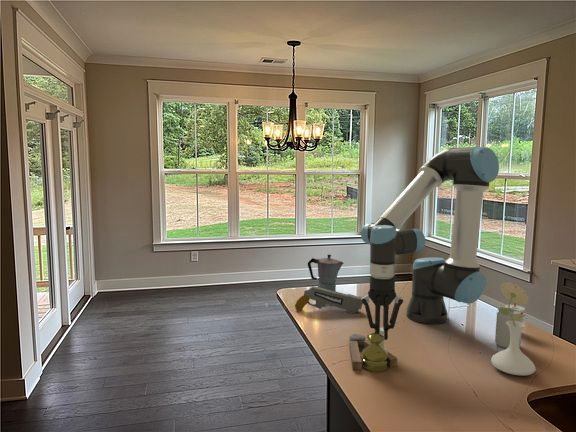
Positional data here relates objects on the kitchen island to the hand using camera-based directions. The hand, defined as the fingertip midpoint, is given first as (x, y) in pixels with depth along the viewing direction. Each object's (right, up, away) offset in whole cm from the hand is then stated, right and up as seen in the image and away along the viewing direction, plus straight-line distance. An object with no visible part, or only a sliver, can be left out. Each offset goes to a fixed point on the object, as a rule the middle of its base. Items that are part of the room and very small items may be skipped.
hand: (381, 349), depth 132 cm
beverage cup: (+50, +1, +17) cm, 53 cm away
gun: (-13, +3, +36) cm, 39 cm away
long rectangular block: (-1, -1, -4) cm, 4 cm away
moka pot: (-13, +5, +50) cm, 52 cm away
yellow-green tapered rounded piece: (-4, -2, -9) cm, 10 cm away
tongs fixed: (-7, -1, -2) cm, 8 cm away
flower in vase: (+35, -3, -10) cm, 37 cm away
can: (+43, -1, +5) cm, 43 cm away
